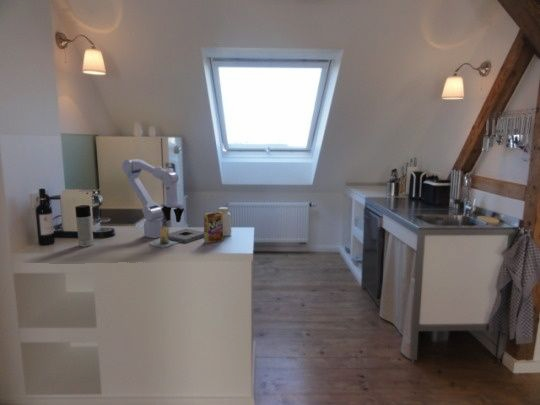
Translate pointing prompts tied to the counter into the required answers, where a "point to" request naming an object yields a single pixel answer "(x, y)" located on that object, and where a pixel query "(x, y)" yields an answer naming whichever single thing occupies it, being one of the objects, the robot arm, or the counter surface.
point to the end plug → (164, 235)
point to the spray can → (84, 225)
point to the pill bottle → (226, 221)
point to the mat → (164, 244)
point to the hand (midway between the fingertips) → (173, 221)
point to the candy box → (213, 227)
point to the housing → (190, 236)
